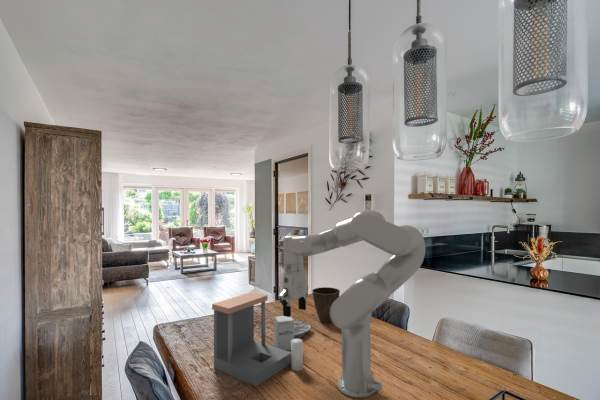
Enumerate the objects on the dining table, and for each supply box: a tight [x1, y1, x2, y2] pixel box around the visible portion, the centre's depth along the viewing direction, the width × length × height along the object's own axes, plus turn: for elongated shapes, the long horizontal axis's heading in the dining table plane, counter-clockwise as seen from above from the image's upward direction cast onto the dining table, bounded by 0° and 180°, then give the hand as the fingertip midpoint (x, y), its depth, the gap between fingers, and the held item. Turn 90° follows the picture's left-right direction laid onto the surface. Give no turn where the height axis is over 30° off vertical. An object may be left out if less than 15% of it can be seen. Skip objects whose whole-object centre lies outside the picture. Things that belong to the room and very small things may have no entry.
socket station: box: [211, 291, 291, 387], centre depth 120 cm, size 22×21×24 cm
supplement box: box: [273, 315, 295, 351], centre depth 136 cm, size 7×7×13 cm
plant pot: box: [311, 286, 341, 324], centre depth 168 cm, size 15×15×16 cm
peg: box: [290, 338, 304, 372], centre depth 118 cm, size 4×4×10 cm
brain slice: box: [294, 320, 312, 339], centre depth 152 cm, size 20×17×3 cm
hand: (294, 312), depth 119 cm, fingers open, 9 cm apart
